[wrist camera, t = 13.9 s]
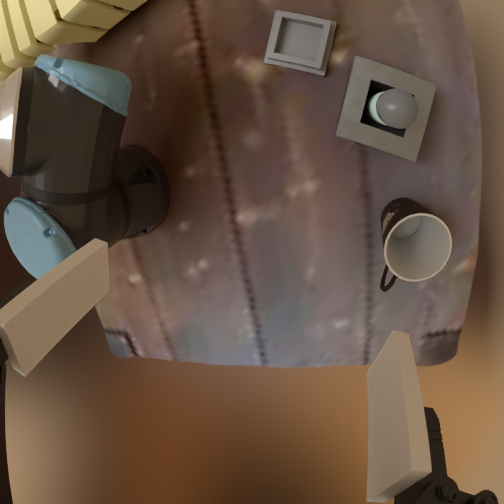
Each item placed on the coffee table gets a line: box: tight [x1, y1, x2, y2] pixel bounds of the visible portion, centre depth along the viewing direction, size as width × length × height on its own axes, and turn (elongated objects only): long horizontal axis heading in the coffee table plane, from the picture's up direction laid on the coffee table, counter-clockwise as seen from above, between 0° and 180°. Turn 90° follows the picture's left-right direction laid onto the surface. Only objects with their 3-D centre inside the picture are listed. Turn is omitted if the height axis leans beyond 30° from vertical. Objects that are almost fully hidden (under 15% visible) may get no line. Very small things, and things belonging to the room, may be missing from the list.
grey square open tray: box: [263, 10, 337, 77], centre depth 33 cm, size 8×8×3 cm
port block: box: [334, 55, 436, 162], centre depth 33 cm, size 10×10×6 cm
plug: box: [364, 88, 418, 129], centre depth 31 cm, size 4×4×12 cm
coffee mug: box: [380, 198, 452, 292], centre depth 38 cm, size 12×9×10 cm
